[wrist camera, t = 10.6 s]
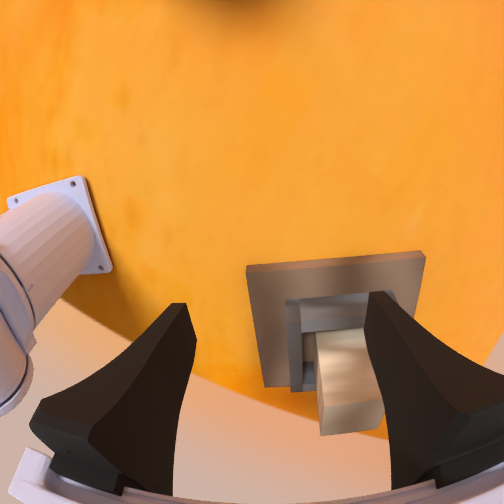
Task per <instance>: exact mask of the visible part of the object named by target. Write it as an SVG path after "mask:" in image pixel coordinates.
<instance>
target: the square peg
mask: <svg viewBox="0 0 504 504" xmlns="http://www.w3.org/2000/svg"><path fill="white" fill-rule="evenodd" d="M363 330H364V327H355V328H346V329H337V330H327V331H316V332H313V360H314V370H315V379H316V390H317V400H318V412H319V424H320V435H321V436H325V435H334V434H343V433H351V432H359V431H365V430H372V429H377V428H378V427H379V424H380V422H381V420H382V417H383V415H384V413H385V409H384V404H383V400H382V396H381V392H380V389H379V386H378V383H377V380H376V376H375V373H374V370H373V367H372V364H371V361H370V358H369V355H368V351H367V346H366V341H365V336H364V331H363Z"/></svg>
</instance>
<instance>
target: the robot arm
mask: <svg viewBox="0 0 504 504" xmlns="http://www.w3.org/2000/svg"><path fill="white" fill-rule="evenodd" d="M73 181H74V182H75V183H76V186H75V185H74V184H73ZM17 199H18V200H17ZM7 205H8V208H9V210H8V211H7V212H5V213H4V214H2V215H1V216H0V417H1V416H3V415H5V414H7V413H8V412H10V411H11V410H13V409H14V408H15V407H16V406H17V405H18V404H19V403H20V402H21V401H22V399H23V398H24V396H25V395H26V393H27V391H28V389H29V387H30V385H31V382H32V377H33V363H32V360H31V357H30V356H29V353H30V351H31V350H32V348H33V347H34V346H35V344H36V343H37V342H36V340H35V338H34V335H33V331H34V329H35V328H36V327H37V326H38V324H39V323H40V322H41V320H42V319H43V318H44V316H45V315H46V314H47V313H48V311H49V310H50V309H51V308H52V306H53V305H54V304H55V303H56V301H57V300H58V299H59V298H60V297H61V295H62V294H63V293H64V292H65V291H66V289H67V288H68V287H69V286H70V285H71V283H72V282H73V281H74V280H75V279H76V278H77V277H78V275H84V274H100V273H109V272H111V270H112V269H113V265H112V262H111V260H110V257H109V254H108V251H107V248H106V246H105V243H104V240H103V237H102V234H101V231H100V227H99V224H98V221H97V218H96V215H95V211H94V208H93V205H92V201H91V198H90V194H89V191H88V187H87V183H86V180H85V178H84V177H83V176H82V175H77V176H74V177H70V178H67V179H63V180H60V181H56V182H53V183H50V184H46V185H43V186H40V187H37V188H34V189H31V190H28V191H25V192H22V193H19V194H16V195H13V196H10V197H9V198H8V199H7ZM101 266H102V267H103V268H101ZM363 331H364V336H365V341H366V346H367V351H368V355H369V358H370V361H371V364H372V367H373V370H374V373H375V376H376V380H377V383H378V386H379V389H380V392H381V396H382V400H383V404H384V409H385V415H386V421H387V428H388V436H389V444H390V457H391V482H392V483H391V484H392V485H391V486H392V487H391V491H387V492H382V493H377V494H372V495H366V496H362V497H355V498H348V499H342V500H333V501H324V502H313V503H299V504H504V375H502V374H499V373H496V372H494V371H492V370H490V369H487V368H485V367H483V366H481V365H479V364H477V363H475V362H473V361H471V360H469V359H468V358H466V357H464V356H462V355H461V354H459V353H457V352H456V351H454V350H453V349H451V348H450V347H448V346H447V345H446V344H444V343H443V342H441V341H440V340H439V339H437V338H436V337H435V336H433V335H432V334H431V333H430V332H428V331H427V330H426V329H425V328H424V327H422V326H421V325H420V324H419V323H418V322H417V321H416V320H414V319H413V318H412V317H411V316H410V315H409V314H408V313H407V312H406V311H405V310H404V309H403V308H402V307H400V306H399V305H398V304H397V303H396V302H395V301H394V300H393V299H392V298H391V297H390V296H389V295H388V294H387V293H386V292H385V291H374V292H369V297H368V304H367V311H366V318H365V324H364V330H363ZM196 342H197V338H196V335H195V332H194V329H193V325H192V322H191V319H190V315H189V312H188V308H187V305H186V303H172V304H171V305H170V306H168V308H167V309H166V310H165V311H164V312H163V313H162V314H161V315H160V316H159V317H158V318H157V319H156V320H155V321H154V322H153V323H152V324H151V325H150V326H149V327H148V328H147V329H146V330H145V331H144V332H143V334H142V335H140V336H139V337H138V338H137V339H136V340H135V341H134V342H133V343H132V344H131V345H130V346H129V347H128V348H127V349H126V350H124V352H122V353H121V354H120V355H119V356H117V357H116V358H115V359H114V360H112V361H111V362H110V363H108V364H107V365H106V366H104V367H103V368H101V369H100V370H98V371H97V372H95V373H94V374H92V375H91V376H89V377H88V378H86V379H84V380H82V381H81V382H79V383H77V384H75V385H73V386H71V387H69V388H67V389H65V390H63V391H61V392H59V393H56V394H54V395H51V396H49V397H47V398H44V399H42V400H41V401H40V404H39V405H38V407H37V409H36V411H35V413H34V415H33V417H32V419H31V421H30V423H29V426H30V429H31V430H32V432H33V433H34V434H35V435H36V436H37V437H38V438H39V439H40V440H41V441H42V442H43V443H44V444H45V445H46V446H48V447H49V448H50V449H51V450H52V451H53V452H54V453H55V454H54V457H53V458H51V457H49V456H48V455H46V454H44V453H41V452H39V451H37V450H35V449H32V448H30V447H26V450H25V452H24V454H23V456H22V459H21V461H20V463H19V466H18V468H17V470H16V473H15V475H14V478H13V480H12V482H11V485H10V487H9V490H8V493H9V494H10V495H12V496H14V497H15V498H17V499H18V500H20V501H22V502H23V503H25V504H234V503H220V502H209V501H200V500H192V499H184V498H178V497H173V465H174V452H175V442H176V434H177V427H178V420H179V414H180V409H181V405H182V401H183V398H184V394H185V390H186V387H187V384H188V380H189V377H190V373H191V370H192V366H193V362H194V357H195V350H196Z"/></svg>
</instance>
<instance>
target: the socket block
mask: <svg viewBox="0 0 504 504" xmlns="http://www.w3.org/2000/svg"><path fill="white" fill-rule="evenodd" d="M425 260H426V257H425V255H424V254H423V253H422V252H421V251H412V252H401V253H390V254H379V255H367V256H356V257H344V258H333V259H321V260H309V261H296V262H284V263H271V264H258V265H247V267H246V278H247V285H248V291H249V297H250V303H251V309H252V315H253V321H254V327H255V333H256V339H257V345H258V351H259V357H260V363H261V369H262V375H263V380H264V386H265V388H266V387H287V386H290V387H291V392H305V391H317V390H316V379H315V370H314V360H313V332H316V331H327V330H337V329H346V328H355V327H364V324H365V318H366V311H367V304H368V297H369V292H374V291H385V292H386V293H387V294H388V295H389V296H390V297H391V298H392V299H393V300H394V301H395V302H396V303H397V304H398V305H399V306H400V307H402V308H403V309H404V310H405V311H406V312H407V313H408V314H409V315H410V316H411V317H412V318H414V314H415V310H416V305H417V301H418V296H419V292H420V287H421V282H422V277H423V271H424V266H425Z"/></svg>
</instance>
